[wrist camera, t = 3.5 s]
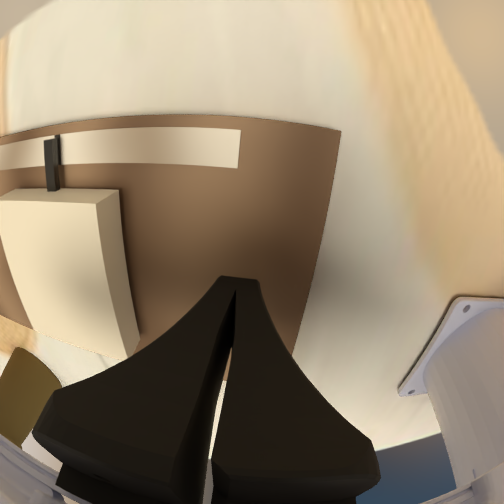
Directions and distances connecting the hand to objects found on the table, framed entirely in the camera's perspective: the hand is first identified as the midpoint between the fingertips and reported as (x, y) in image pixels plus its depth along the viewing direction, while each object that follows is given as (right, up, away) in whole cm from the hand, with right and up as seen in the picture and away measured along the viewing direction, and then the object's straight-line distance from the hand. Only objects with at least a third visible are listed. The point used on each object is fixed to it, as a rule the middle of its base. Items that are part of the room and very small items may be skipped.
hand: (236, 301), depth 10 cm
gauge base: (-10, +2, +2) cm, 11 cm away
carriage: (-7, +2, 0) cm, 7 cm away
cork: (-19, -9, +9) cm, 23 cm away
